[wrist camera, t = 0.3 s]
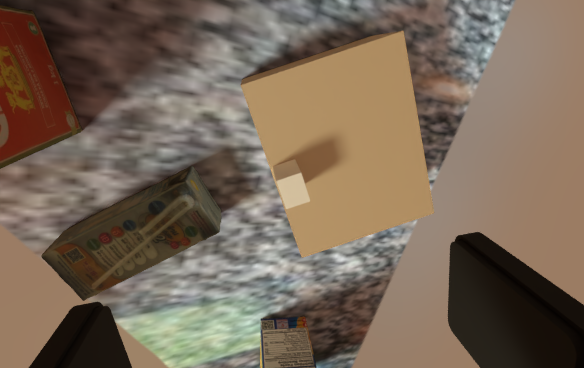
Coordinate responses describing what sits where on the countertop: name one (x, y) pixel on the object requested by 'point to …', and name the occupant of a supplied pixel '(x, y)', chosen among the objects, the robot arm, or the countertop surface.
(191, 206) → the beverage carton
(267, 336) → the beverage box
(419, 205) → the carton lid
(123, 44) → the countertop surface
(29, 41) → the food packaging
